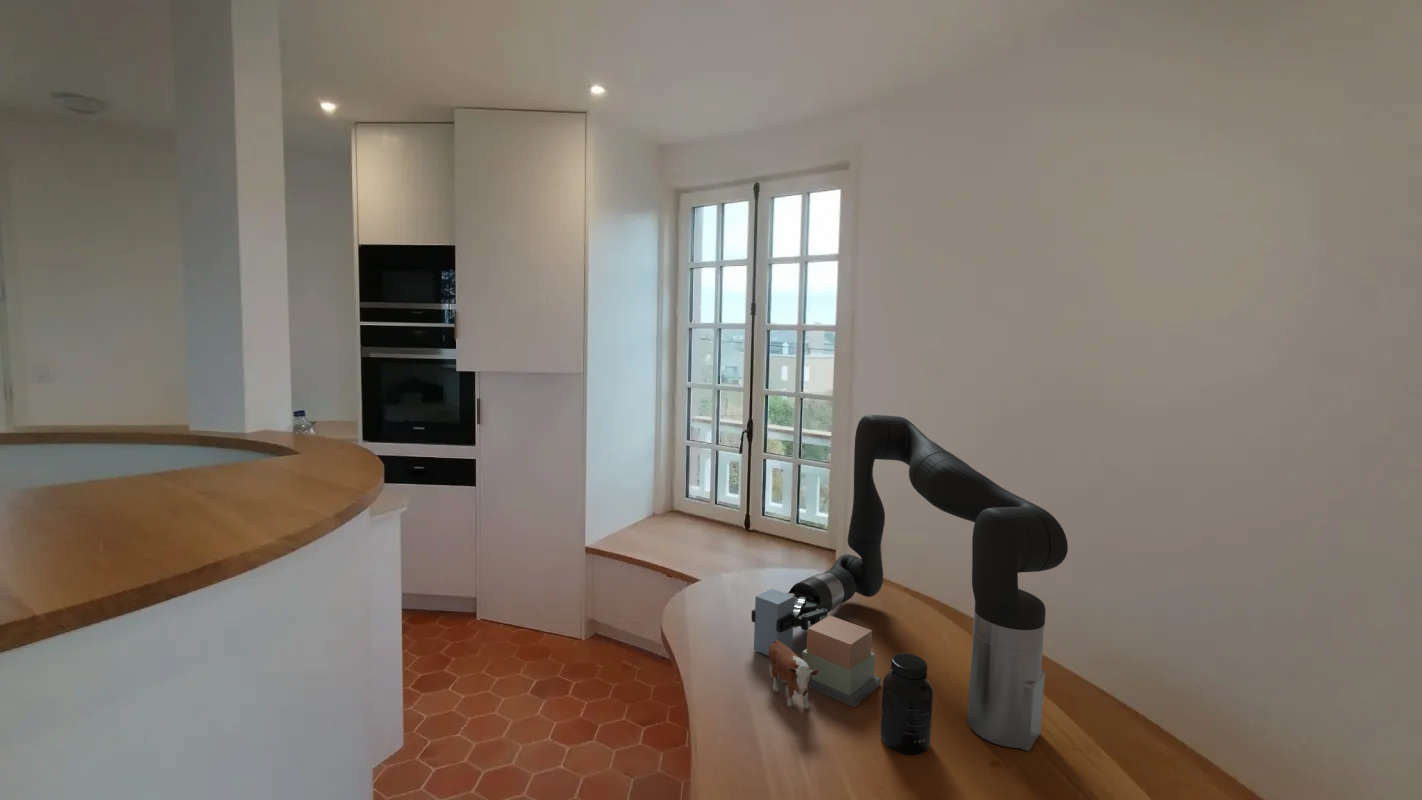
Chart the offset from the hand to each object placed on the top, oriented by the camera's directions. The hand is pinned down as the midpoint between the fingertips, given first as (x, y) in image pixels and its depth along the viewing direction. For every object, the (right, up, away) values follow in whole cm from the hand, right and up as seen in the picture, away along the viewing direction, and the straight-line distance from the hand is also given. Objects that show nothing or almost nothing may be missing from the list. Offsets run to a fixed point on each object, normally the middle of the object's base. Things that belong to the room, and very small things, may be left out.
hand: (765, 621), depth 110 cm
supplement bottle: (+18, -9, -23) cm, 30 cm away
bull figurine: (+3, -8, -13) cm, 15 cm away
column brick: (+2, -6, +2) cm, 7 cm away
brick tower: (+11, -7, -7) cm, 15 cm away
